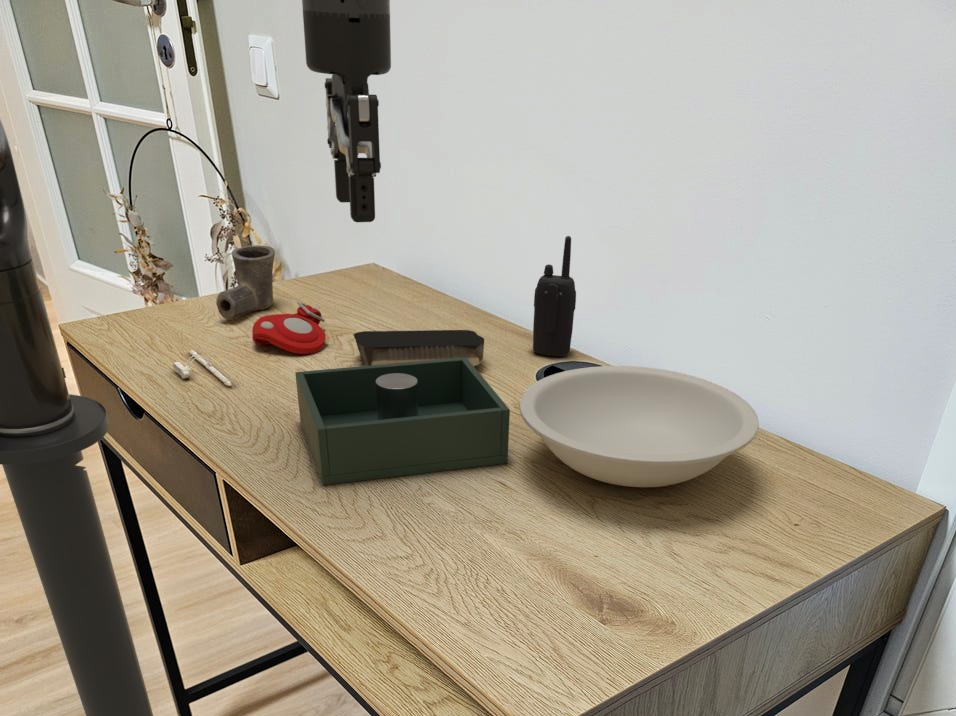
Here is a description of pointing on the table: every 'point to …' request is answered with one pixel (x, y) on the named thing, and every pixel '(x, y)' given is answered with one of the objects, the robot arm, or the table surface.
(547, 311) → the two-way radio
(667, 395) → the soup bowl
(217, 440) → the table surface
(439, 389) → the bin
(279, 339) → the tracker holder
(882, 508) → the table surface
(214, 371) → the picture light
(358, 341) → the bristle scrub brush
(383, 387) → the metal cylinder
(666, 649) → the table surface
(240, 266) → the pipe
